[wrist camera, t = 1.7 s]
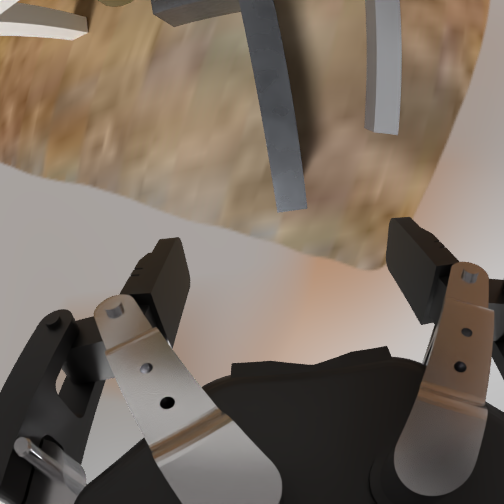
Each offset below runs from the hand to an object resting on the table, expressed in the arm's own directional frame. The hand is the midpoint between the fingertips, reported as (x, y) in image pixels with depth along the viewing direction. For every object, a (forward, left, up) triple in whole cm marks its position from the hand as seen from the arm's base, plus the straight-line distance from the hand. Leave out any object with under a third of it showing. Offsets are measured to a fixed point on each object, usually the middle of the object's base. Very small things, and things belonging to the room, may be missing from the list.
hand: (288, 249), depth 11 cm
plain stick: (-12, -11, -19) cm, 25 cm away
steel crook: (+2, -6, -19) cm, 20 cm away
